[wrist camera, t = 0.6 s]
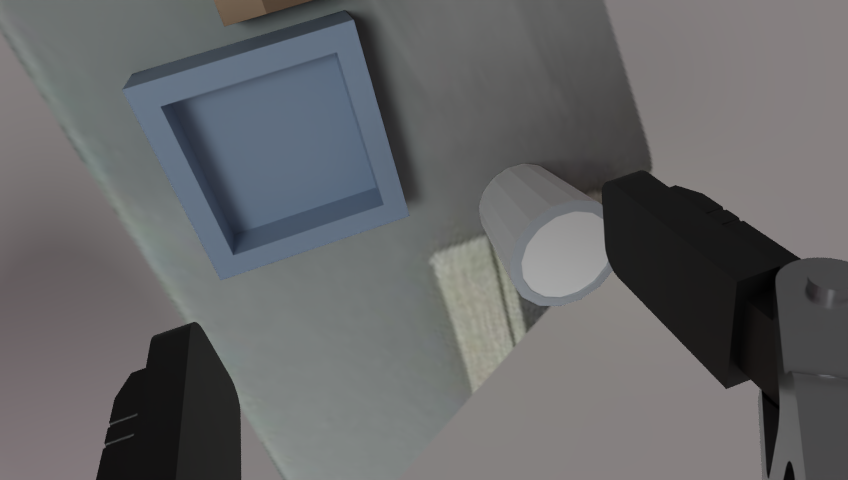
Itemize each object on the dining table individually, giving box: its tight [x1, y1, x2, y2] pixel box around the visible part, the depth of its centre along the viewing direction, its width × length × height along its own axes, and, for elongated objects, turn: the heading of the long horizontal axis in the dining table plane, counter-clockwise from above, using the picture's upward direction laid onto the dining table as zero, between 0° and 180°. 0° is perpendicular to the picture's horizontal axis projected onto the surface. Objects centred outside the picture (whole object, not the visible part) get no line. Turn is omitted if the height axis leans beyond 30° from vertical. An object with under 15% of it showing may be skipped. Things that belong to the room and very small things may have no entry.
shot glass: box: [479, 163, 613, 306], centre depth 36 cm, size 7×7×7 cm
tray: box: [122, 10, 409, 280], centre depth 32 cm, size 11×11×3 cm
